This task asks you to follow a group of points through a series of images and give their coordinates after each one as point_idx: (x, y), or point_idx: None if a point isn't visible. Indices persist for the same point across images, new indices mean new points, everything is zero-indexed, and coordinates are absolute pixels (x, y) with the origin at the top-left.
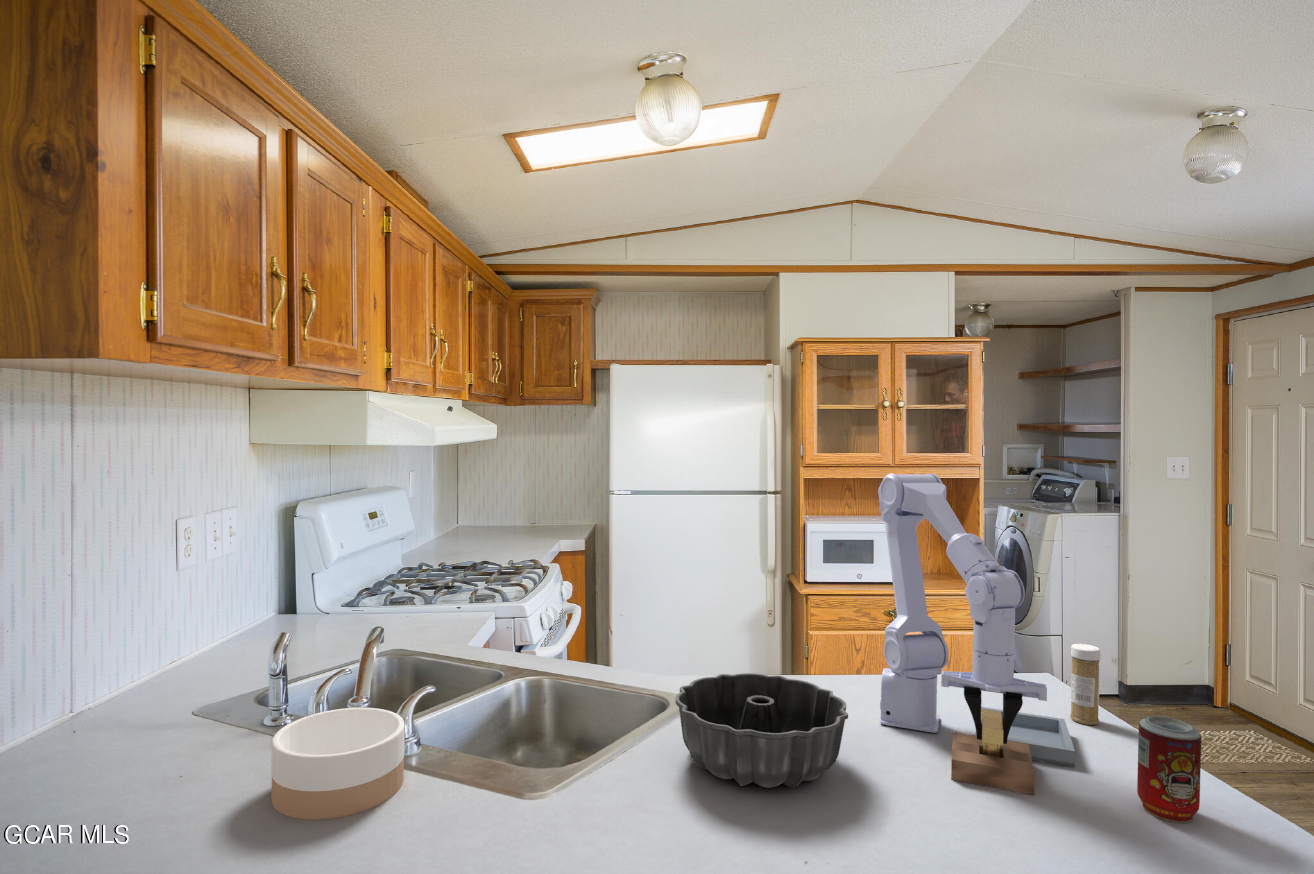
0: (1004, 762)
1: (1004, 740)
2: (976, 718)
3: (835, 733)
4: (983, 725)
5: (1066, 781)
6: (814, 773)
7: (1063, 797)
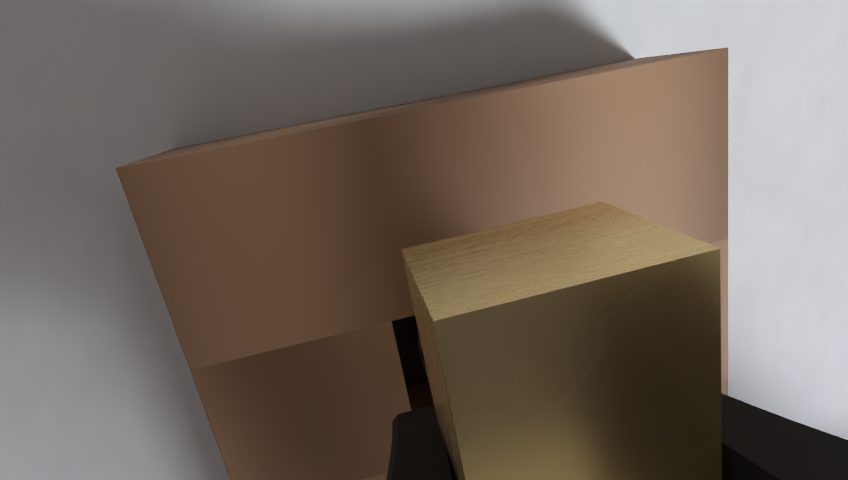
0: (375, 248)
1: (414, 421)
2: (816, 453)
3: None
4: (706, 336)
5: (64, 457)
6: None
7: (8, 234)
